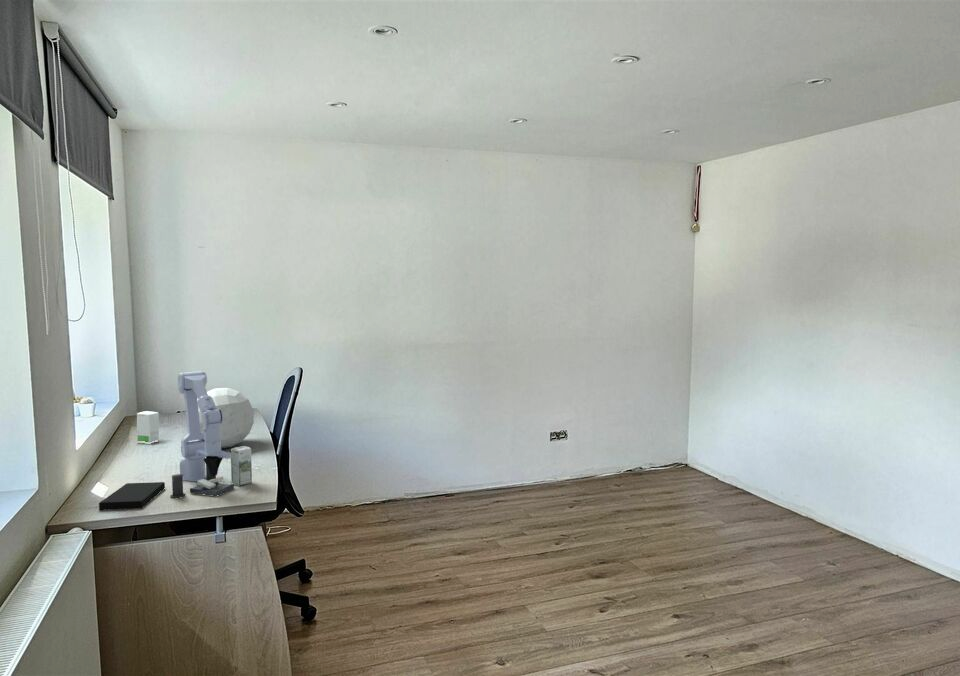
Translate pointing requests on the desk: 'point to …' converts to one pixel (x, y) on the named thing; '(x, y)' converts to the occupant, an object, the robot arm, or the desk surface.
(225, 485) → the panel
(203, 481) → the grey paddle
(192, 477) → the robot arm
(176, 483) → the post
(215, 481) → the orange-tipped paddle
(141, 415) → the skincare box
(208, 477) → the far cord post
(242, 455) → the syrup box
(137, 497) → the external hard drive
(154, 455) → the desk surface
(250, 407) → the ball
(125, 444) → the desk surface
